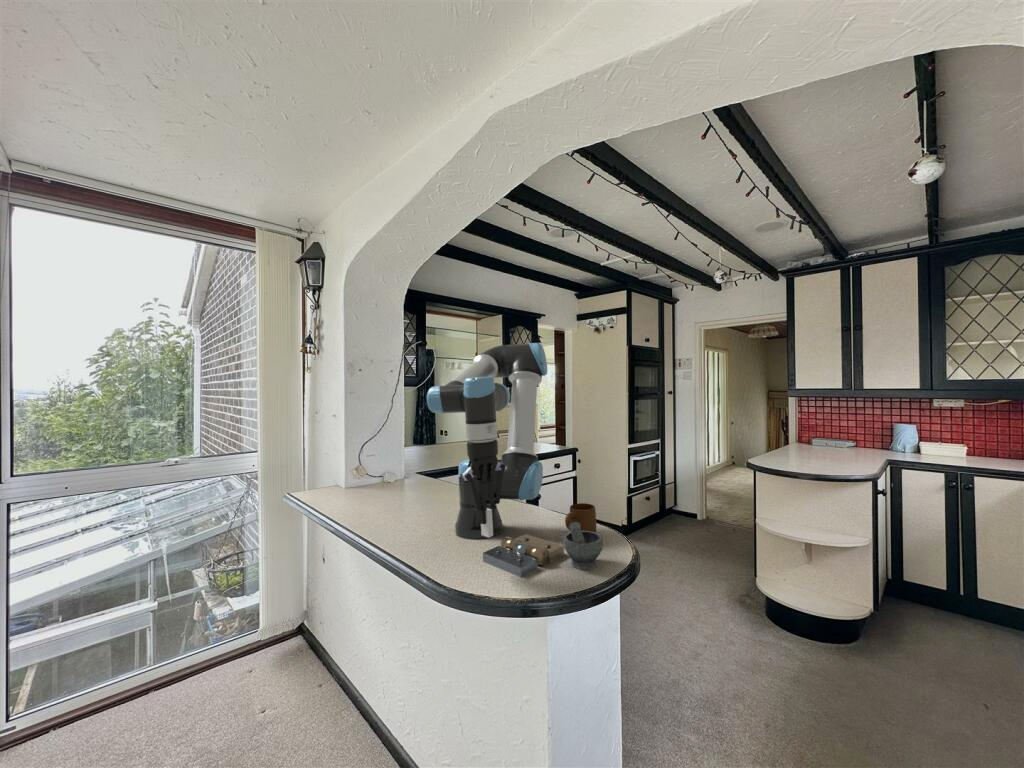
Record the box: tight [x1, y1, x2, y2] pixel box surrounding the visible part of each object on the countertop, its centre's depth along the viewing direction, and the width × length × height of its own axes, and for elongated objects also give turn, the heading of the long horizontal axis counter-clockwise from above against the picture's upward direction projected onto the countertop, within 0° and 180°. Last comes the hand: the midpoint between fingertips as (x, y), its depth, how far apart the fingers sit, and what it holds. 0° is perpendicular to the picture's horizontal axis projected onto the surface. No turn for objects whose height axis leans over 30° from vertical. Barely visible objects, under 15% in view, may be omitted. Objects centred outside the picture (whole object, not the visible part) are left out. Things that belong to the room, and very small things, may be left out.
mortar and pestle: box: [562, 522, 604, 571], centre depth 103 cm, size 11×9×12 cm
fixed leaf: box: [500, 534, 565, 566], centre depth 111 cm, size 14×10×4 cm
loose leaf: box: [482, 542, 539, 578], centre depth 106 cm, size 14×10×4 cm
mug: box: [564, 502, 598, 533], centre depth 119 cm, size 12×8×9 cm, turn 136°
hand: (487, 535), depth 100 cm, fingers closed
